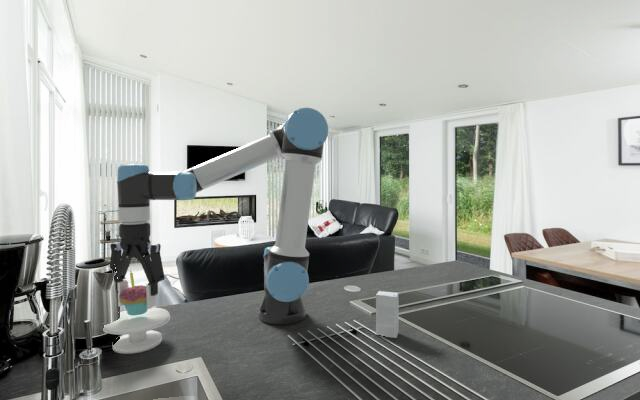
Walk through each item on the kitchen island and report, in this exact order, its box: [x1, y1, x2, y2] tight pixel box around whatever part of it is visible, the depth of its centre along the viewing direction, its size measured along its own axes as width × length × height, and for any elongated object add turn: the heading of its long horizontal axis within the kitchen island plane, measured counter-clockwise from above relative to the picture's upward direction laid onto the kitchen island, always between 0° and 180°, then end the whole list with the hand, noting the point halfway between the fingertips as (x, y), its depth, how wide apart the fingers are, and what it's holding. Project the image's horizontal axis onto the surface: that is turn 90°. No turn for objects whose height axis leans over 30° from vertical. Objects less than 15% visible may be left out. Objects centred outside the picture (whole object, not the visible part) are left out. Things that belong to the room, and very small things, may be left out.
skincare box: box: [375, 290, 400, 339], centre depth 107 cm, size 6×4×12 cm
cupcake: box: [119, 270, 148, 315], centre depth 100 cm, size 9×8×12 cm
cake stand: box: [102, 306, 171, 355], centre depth 101 cm, size 17×17×7 cm
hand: (137, 305), depth 100 cm, fingers closed on cupcake, 8 cm apart
